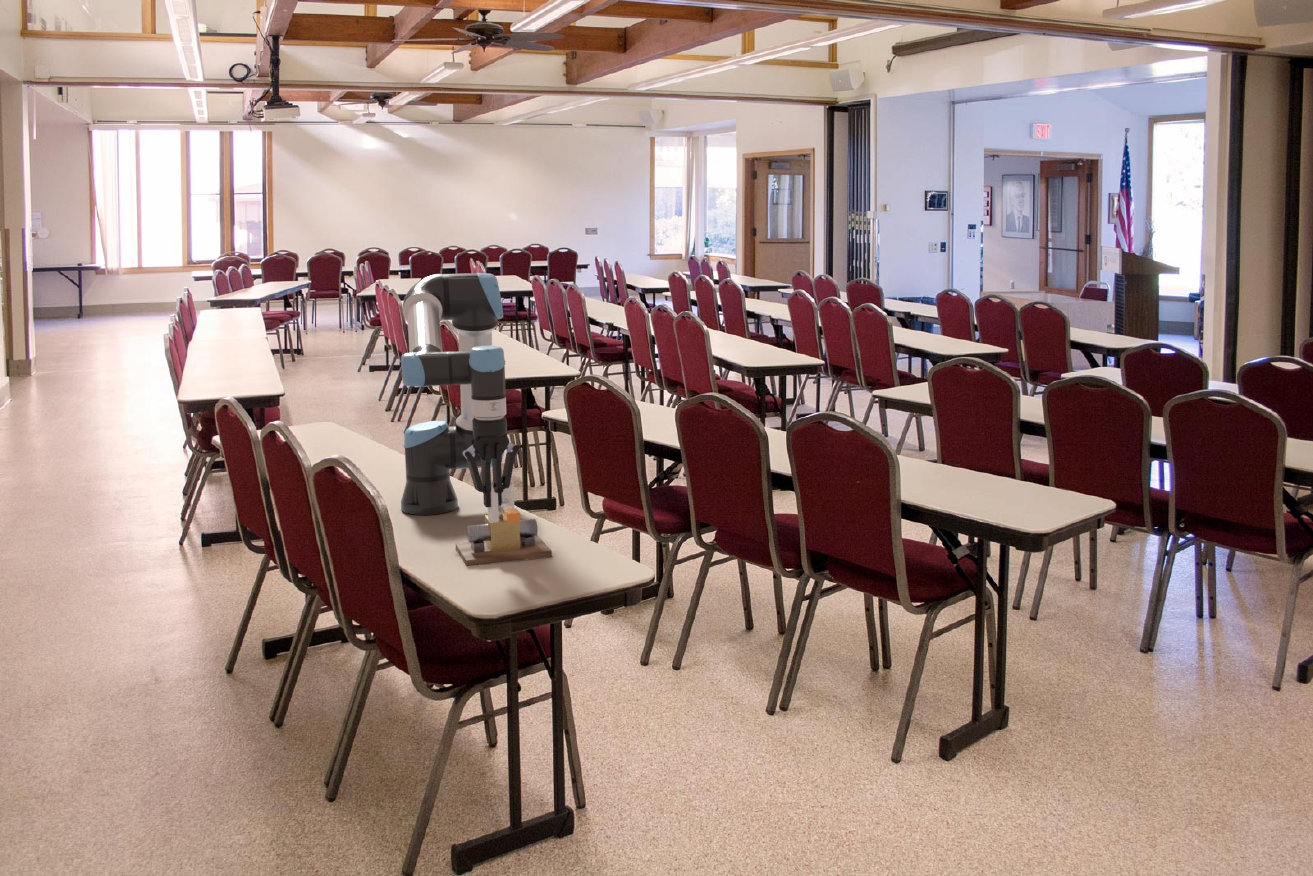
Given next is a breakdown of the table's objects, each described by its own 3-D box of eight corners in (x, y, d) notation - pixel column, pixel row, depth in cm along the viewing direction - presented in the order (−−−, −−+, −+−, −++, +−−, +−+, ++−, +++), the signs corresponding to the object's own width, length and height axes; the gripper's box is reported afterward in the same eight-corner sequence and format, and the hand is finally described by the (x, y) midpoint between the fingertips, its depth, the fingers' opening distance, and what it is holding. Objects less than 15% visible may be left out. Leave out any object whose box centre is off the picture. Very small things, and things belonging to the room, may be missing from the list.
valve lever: (492, 507, 265) (491, 498, 265) (507, 505, 267) (506, 496, 266) (505, 523, 252) (505, 514, 251) (521, 522, 253) (521, 512, 252)
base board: (455, 549, 270) (455, 543, 269) (537, 540, 276) (537, 534, 276) (466, 566, 257) (466, 560, 256) (551, 556, 263) (551, 550, 263)
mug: (517, 531, 284) (516, 485, 281) (491, 534, 281) (489, 488, 279) (509, 521, 293) (508, 476, 290) (484, 524, 291) (482, 478, 288)
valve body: (466, 546, 267) (464, 508, 265) (532, 539, 272) (531, 502, 270) (472, 554, 260) (470, 516, 258) (539, 547, 266) (538, 509, 264)
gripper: (467, 422, 241) (471, 528, 246) (523, 416, 248) (527, 520, 252) (455, 417, 248) (460, 520, 253) (510, 411, 254) (514, 512, 259)
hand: (493, 520), depth 253 cm, fingers closed
